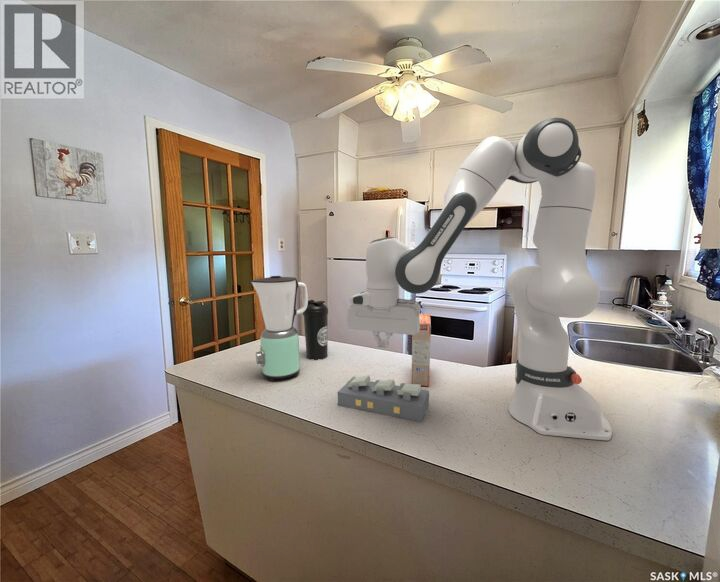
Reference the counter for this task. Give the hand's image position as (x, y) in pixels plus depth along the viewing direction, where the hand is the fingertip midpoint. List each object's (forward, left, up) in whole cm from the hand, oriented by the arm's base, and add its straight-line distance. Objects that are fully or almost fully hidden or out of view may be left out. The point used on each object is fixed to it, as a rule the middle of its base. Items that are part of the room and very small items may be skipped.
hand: (382, 346), depth 91 cm
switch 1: (+7, 0, -11) cm, 14 cm away
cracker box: (-6, -22, -17) cm, 29 cm away
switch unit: (0, 0, -17) cm, 17 cm away
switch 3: (-8, 0, -11) cm, 14 cm away
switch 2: (0, 0, -11) cm, 11 cm away
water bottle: (+38, -28, -17) cm, 50 cm away
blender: (+40, -8, -17) cm, 44 cm away
